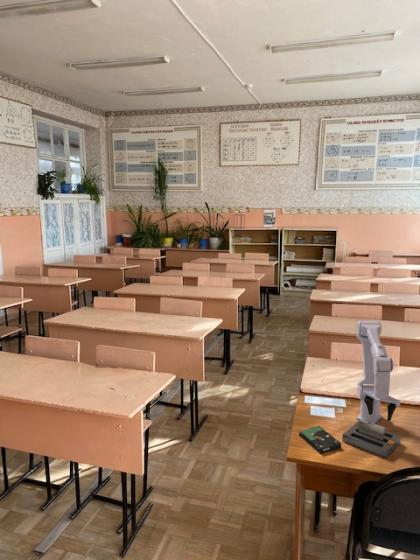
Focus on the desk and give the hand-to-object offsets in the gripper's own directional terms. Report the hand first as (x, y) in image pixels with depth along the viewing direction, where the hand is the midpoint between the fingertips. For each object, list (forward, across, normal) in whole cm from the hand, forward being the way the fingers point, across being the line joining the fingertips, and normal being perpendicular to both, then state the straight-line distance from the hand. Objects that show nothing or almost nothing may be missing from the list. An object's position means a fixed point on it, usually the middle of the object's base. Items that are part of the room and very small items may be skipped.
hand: (379, 417), depth 174 cm
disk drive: (+10, -17, -18) cm, 27 cm away
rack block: (+9, -1, -5) cm, 11 cm away
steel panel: (+8, -1, -5) cm, 10 cm away
